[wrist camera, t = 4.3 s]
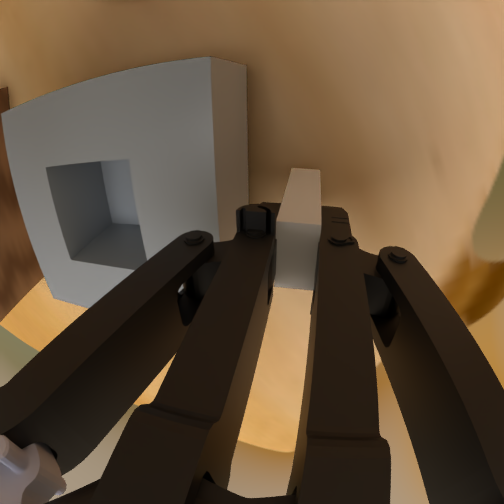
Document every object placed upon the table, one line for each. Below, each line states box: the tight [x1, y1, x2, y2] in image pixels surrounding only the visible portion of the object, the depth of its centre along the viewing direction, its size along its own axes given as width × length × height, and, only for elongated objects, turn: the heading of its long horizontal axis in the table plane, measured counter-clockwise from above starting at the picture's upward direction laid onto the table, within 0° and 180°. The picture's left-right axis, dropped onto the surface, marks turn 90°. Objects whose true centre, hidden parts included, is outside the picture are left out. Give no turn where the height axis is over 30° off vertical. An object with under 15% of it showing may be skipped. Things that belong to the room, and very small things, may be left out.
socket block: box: [1, 56, 249, 308], centre depth 16 cm, size 14×14×6 cm
